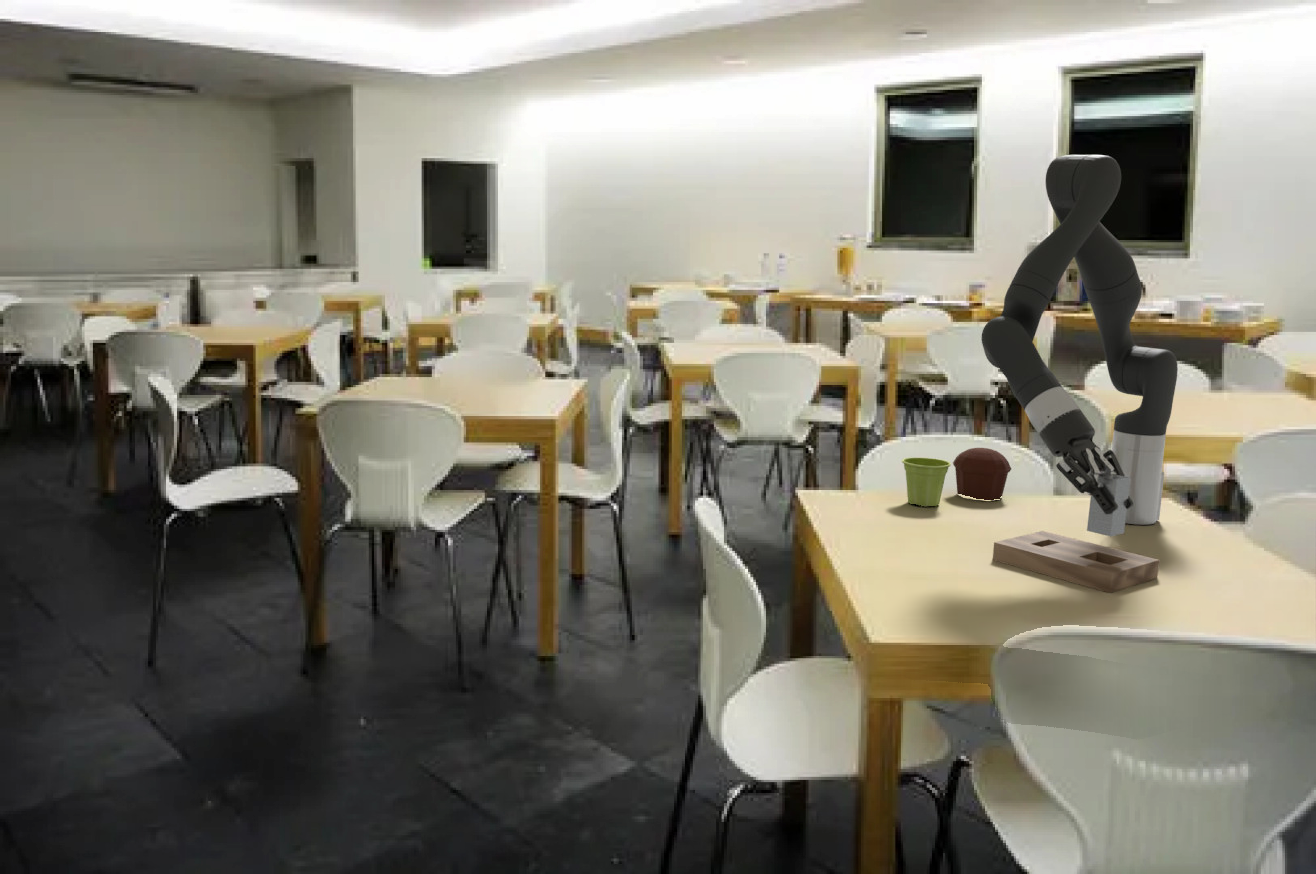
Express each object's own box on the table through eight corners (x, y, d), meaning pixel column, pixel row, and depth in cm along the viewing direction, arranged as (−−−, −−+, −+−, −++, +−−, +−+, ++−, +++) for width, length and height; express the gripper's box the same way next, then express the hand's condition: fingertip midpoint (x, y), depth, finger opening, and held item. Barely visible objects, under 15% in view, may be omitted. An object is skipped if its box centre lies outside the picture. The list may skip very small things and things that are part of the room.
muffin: (1012, 495, 239) (1016, 448, 238) (1004, 505, 229) (1009, 456, 228) (955, 488, 244) (958, 442, 243) (945, 498, 234) (948, 450, 233)
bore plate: (1041, 547, 198) (1042, 530, 198) (1157, 578, 182) (1159, 560, 182) (992, 559, 190) (994, 542, 189) (1110, 592, 173) (1112, 573, 173)
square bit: (1100, 527, 183) (1106, 472, 182) (1123, 533, 180) (1130, 477, 179) (1086, 530, 181) (1093, 475, 179) (1110, 536, 178) (1116, 479, 176)
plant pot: (892, 499, 232) (894, 457, 231) (935, 498, 234) (938, 456, 232) (910, 510, 223) (913, 466, 221) (955, 509, 225) (958, 466, 223)
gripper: (1050, 410, 179) (1114, 501, 171) (1099, 405, 188) (1162, 492, 180) (1017, 438, 184) (1078, 528, 176) (1067, 432, 192) (1126, 517, 185)
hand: (1120, 509), depth 178 cm, fingers closed on square bit, 4 cm apart
